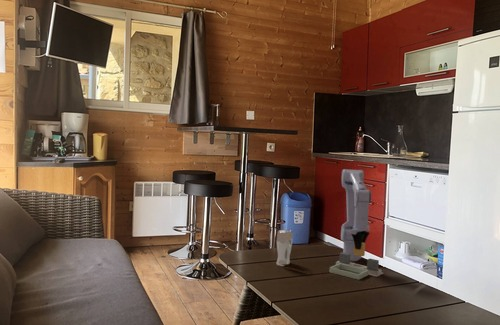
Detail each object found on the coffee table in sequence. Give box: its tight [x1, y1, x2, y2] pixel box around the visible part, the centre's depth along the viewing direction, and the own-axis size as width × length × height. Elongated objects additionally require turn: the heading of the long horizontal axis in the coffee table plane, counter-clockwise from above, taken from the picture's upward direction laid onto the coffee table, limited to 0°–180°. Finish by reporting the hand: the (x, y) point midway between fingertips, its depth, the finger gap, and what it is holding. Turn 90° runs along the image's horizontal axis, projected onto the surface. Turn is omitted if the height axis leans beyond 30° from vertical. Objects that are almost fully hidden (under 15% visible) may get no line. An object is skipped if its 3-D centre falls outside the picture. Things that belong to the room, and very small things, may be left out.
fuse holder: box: [335, 260, 384, 277], centre depth 181 cm, size 7×20×2 cm, turn 51°
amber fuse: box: [353, 242, 366, 257], centre depth 180 cm, size 2×4×6 cm, turn 51°
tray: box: [328, 263, 369, 280], centre depth 174 cm, size 9×13×3 cm
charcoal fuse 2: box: [366, 258, 380, 271], centre depth 176 cm, size 2×4×6 cm, turn 51°
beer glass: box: [275, 229, 293, 267], centre depth 185 cm, size 7×7×15 cm
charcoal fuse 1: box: [338, 251, 351, 264], centre depth 185 cm, size 2×4×6 cm, turn 50°
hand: (359, 248), depth 180 cm, fingers closed on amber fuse, 2 cm apart
